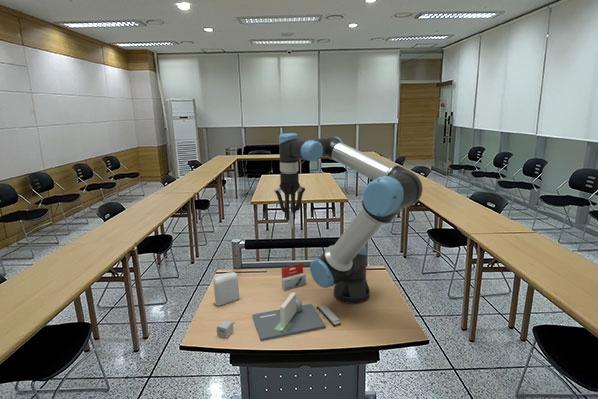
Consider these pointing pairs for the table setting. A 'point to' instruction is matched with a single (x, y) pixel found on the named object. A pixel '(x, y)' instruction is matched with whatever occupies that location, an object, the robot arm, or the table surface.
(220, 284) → the photo printer
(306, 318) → the gray rectangular board
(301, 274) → the ink cartridge box
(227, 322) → the usb wall charger
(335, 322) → the harmonica
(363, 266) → the robot arm
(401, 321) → the table surface
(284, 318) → the cream slab with knob
